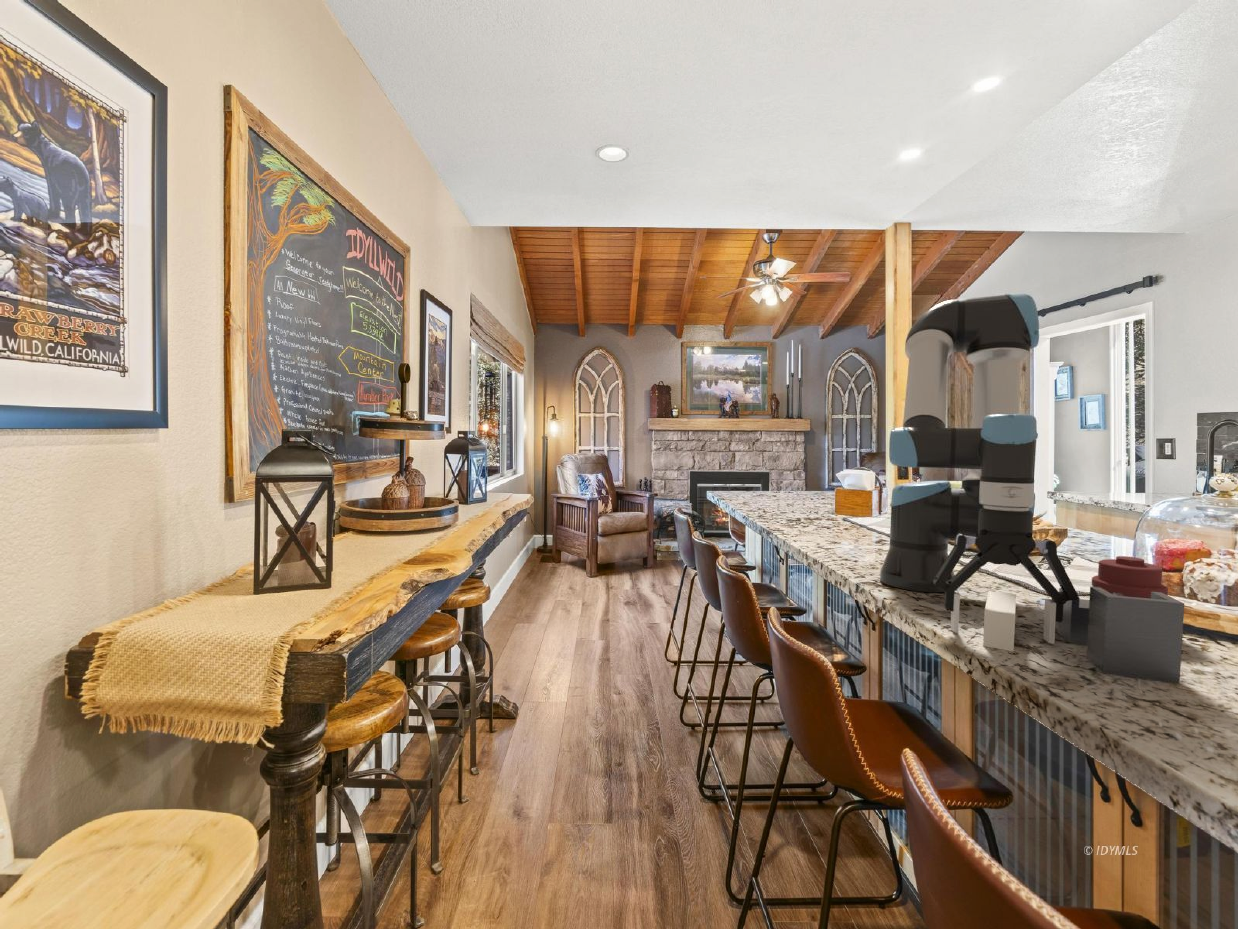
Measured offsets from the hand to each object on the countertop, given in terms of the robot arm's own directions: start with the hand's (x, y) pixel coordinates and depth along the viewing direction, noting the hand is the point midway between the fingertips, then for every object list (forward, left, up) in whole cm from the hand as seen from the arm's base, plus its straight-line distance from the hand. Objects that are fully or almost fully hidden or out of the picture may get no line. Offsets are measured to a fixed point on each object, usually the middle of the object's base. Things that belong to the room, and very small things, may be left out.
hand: (1000, 635), depth 96 cm
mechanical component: (-14, +22, 0) cm, 26 cm away
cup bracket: (+9, +14, 0) cm, 17 cm away
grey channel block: (-4, +14, 0) cm, 15 cm away
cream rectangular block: (0, 0, 0) cm, 1 cm away
